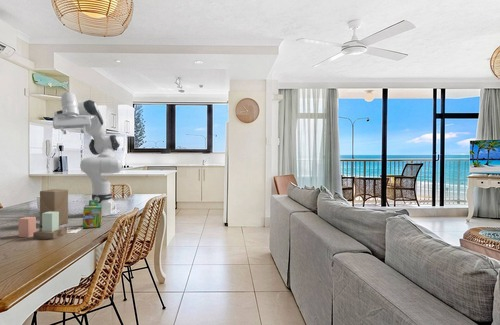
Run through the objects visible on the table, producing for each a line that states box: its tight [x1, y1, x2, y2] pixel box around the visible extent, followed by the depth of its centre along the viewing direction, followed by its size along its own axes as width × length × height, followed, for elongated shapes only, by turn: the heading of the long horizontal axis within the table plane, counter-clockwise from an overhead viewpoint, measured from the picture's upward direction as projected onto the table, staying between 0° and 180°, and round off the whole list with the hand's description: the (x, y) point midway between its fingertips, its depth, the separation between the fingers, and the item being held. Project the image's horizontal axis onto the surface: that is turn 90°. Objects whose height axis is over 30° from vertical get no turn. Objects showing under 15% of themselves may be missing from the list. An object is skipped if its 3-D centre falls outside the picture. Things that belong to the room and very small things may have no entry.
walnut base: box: [33, 227, 68, 240], centre depth 150 cm, size 10×10×3 cm
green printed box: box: [82, 199, 103, 229], centre depth 172 cm, size 9×9×15 cm
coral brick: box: [18, 216, 37, 238], centre depth 151 cm, size 5×5×9 cm
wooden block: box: [39, 188, 69, 227], centre depth 175 cm, size 10×10×20 cm
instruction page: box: [66, 226, 84, 234], centre depth 162 cm, size 12×9×1 cm
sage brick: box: [41, 211, 60, 232], centre depth 150 cm, size 5×5×9 cm
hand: (73, 133), depth 180 cm, fingers open, 8 cm apart
